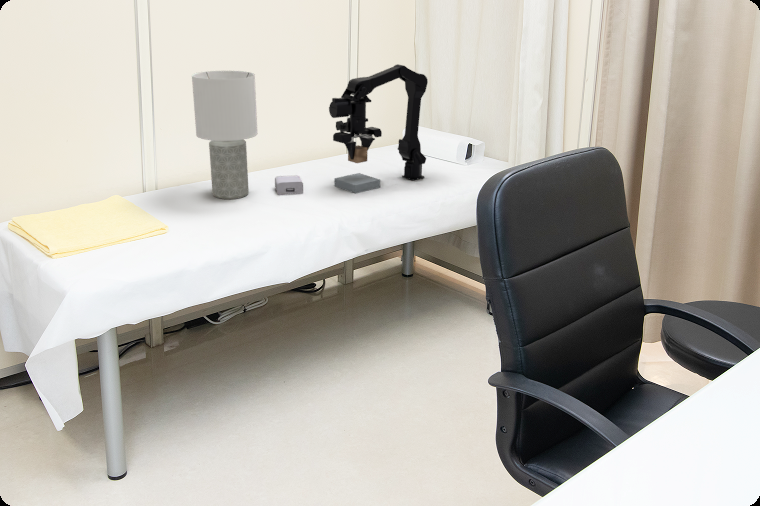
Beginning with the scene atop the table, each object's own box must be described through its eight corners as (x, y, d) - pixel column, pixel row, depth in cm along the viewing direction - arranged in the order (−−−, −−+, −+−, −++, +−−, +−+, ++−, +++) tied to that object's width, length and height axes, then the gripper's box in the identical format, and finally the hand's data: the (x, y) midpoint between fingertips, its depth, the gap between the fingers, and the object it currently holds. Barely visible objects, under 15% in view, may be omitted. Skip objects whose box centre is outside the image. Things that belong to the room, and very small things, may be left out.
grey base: (359, 180, 281) (359, 172, 280) (380, 187, 273) (380, 179, 272) (334, 186, 274) (334, 178, 273) (355, 193, 266) (355, 185, 265)
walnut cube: (358, 158, 273) (358, 145, 271) (367, 161, 270) (367, 147, 268) (348, 160, 270) (348, 147, 268) (356, 163, 267) (357, 149, 265)
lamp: (238, 183, 276) (232, 69, 261) (271, 195, 262) (267, 75, 247) (189, 193, 262) (179, 74, 247) (222, 206, 249) (214, 81, 234)
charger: (298, 182, 278) (303, 194, 264) (273, 184, 276) (277, 195, 262) (297, 170, 276) (303, 181, 263) (272, 171, 274) (277, 182, 261)
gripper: (362, 109, 275) (362, 150, 281) (323, 115, 264) (323, 157, 269) (382, 113, 268) (382, 155, 273) (343, 119, 256) (343, 163, 262)
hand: (357, 158), depth 270 cm, fingers closed on walnut cube, 5 cm apart
